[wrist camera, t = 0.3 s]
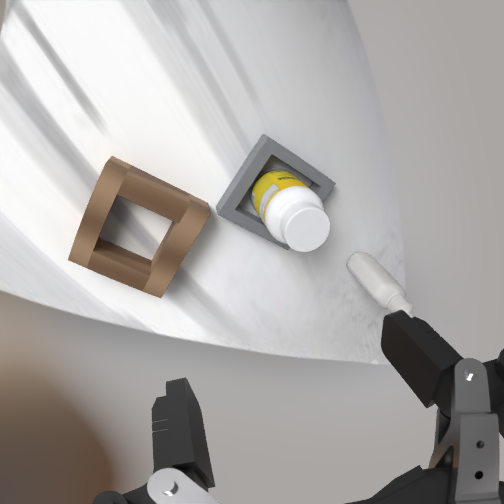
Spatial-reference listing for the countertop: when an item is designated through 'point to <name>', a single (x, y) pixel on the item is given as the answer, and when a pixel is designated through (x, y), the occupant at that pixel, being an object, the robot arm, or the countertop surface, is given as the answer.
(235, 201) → the holder
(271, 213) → the supplement bottle
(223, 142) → the countertop surface
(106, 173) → the socket block
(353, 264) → the eye dropper bottle
